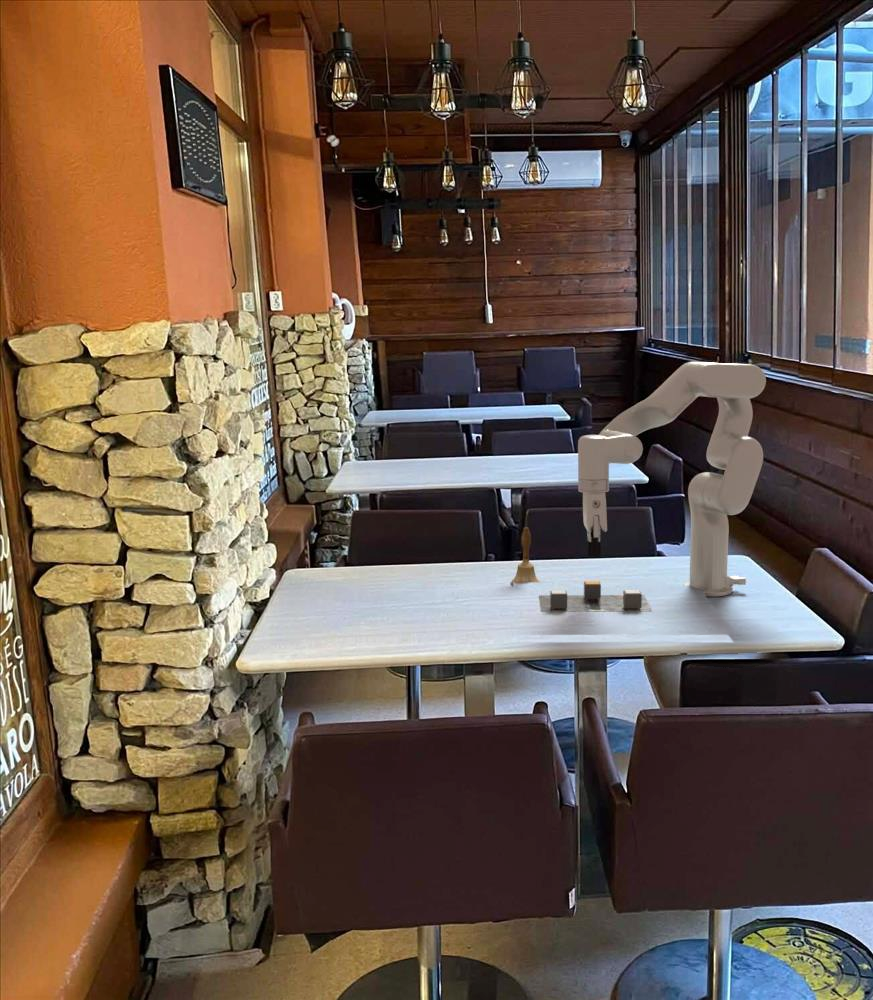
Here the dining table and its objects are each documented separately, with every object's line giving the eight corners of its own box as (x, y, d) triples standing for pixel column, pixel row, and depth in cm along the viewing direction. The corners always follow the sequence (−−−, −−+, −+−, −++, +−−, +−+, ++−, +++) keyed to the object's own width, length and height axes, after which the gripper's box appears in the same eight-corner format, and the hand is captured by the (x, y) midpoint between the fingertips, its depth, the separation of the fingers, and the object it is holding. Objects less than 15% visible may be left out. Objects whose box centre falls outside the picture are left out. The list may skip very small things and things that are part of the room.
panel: (644, 600, 243) (644, 594, 242) (652, 617, 229) (652, 611, 229) (538, 601, 245) (538, 595, 244) (540, 617, 231) (540, 611, 231)
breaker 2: (639, 604, 233) (639, 589, 233) (641, 608, 230) (641, 593, 229) (623, 604, 234) (623, 589, 233) (624, 608, 230) (625, 593, 230)
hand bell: (540, 579, 265) (540, 524, 262) (540, 587, 257) (540, 530, 254) (511, 579, 266) (510, 524, 263) (510, 587, 258) (509, 530, 255)
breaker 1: (566, 604, 235) (566, 590, 234) (567, 608, 231) (567, 593, 231) (550, 604, 235) (550, 590, 234) (550, 608, 232) (550, 593, 231)
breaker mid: (599, 594, 242) (599, 580, 242) (600, 598, 239) (600, 584, 238) (583, 594, 243) (583, 580, 242) (584, 598, 239) (584, 584, 239)
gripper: (613, 489, 226) (613, 563, 230) (604, 479, 241) (604, 549, 244) (581, 490, 227) (582, 564, 230) (575, 480, 241) (575, 550, 245)
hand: (593, 556), depth 237 cm, fingers closed
